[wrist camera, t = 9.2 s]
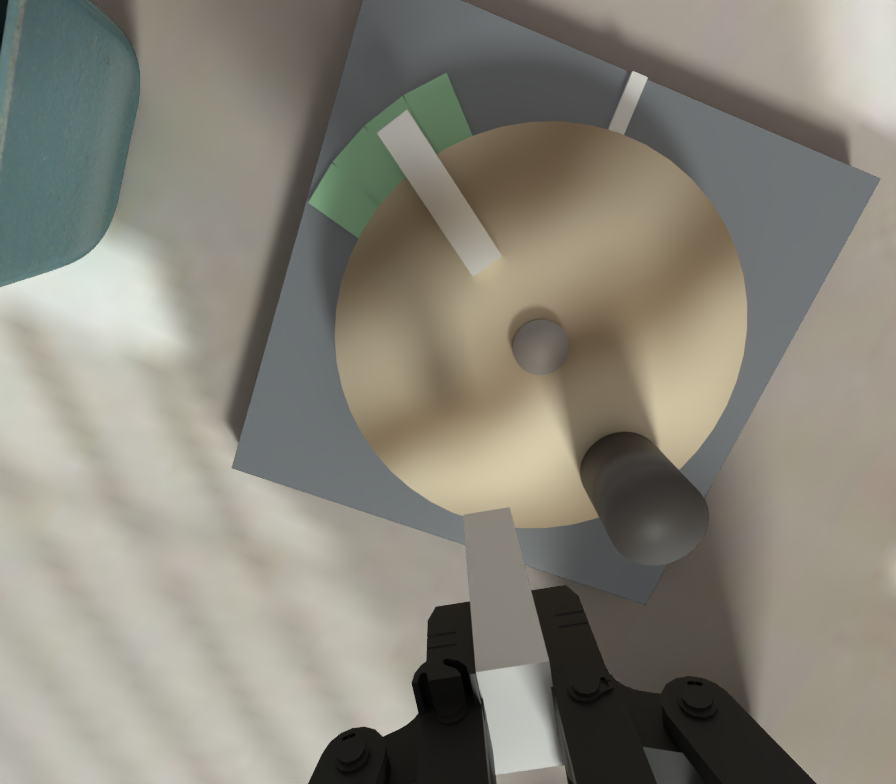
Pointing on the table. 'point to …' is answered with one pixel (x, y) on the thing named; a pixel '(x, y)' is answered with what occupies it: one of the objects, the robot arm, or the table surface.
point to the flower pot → (60, 131)
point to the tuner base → (483, 109)
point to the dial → (544, 330)
